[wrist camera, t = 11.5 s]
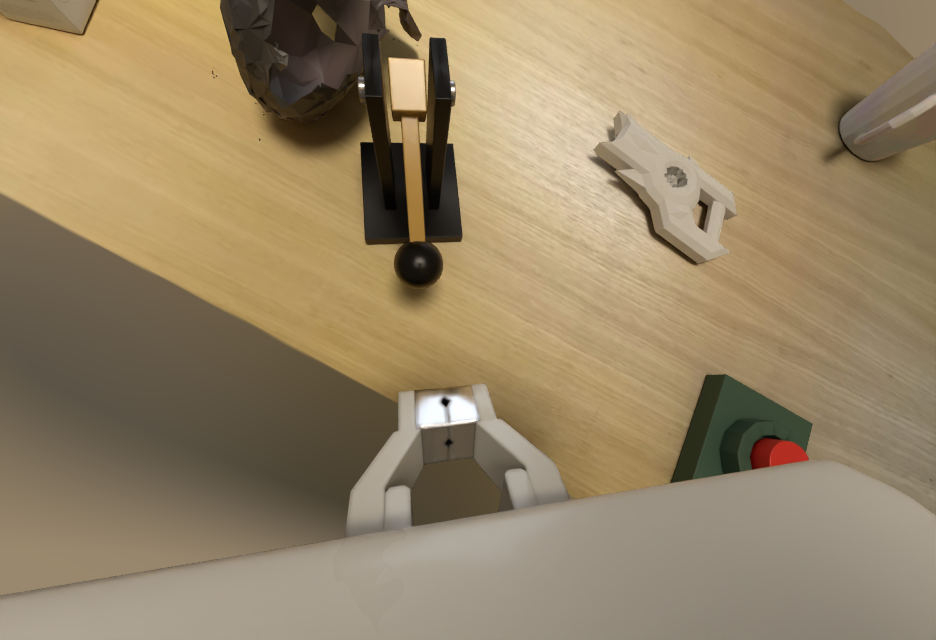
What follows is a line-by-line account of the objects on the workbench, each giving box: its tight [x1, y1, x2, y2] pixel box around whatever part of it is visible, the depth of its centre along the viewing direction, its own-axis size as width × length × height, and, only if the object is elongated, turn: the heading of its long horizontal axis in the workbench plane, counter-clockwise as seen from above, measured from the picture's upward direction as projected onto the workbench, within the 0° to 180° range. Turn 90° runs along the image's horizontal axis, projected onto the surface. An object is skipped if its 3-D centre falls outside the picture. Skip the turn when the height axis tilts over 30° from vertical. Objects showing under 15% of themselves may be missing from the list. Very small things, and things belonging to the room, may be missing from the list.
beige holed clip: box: [594, 111, 737, 264], centre depth 36 cm, size 18×3×10 cm
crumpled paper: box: [212, 0, 422, 140], centre depth 27 cm, size 14×15×20 cm
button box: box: [671, 374, 812, 483], centre depth 31 cm, size 12×10×4 cm
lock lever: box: [388, 57, 443, 289], centre depth 23 cm, size 14×4×4 cm, turn 6°
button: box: [750, 438, 809, 470], centre depth 28 cm, size 4×4×2 cm
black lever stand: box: [357, 33, 462, 244], centre depth 26 cm, size 10×9×14 cm
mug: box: [840, 42, 936, 161], centre depth 39 cm, size 10×15×10 cm
